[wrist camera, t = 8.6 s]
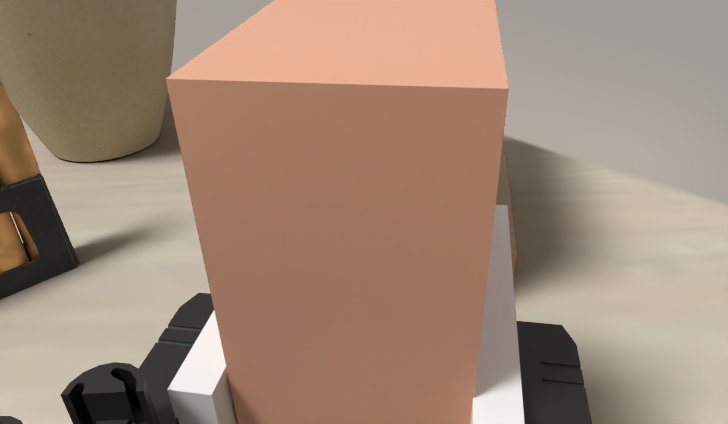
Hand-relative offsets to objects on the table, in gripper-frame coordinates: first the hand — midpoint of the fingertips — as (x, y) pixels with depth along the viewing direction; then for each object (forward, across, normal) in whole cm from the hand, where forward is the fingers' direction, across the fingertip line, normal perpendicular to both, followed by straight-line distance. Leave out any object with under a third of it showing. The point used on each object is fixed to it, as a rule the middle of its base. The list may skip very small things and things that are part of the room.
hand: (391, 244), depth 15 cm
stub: (-3, 0, -8) cm, 8 cm away
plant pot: (+22, -23, -8) cm, 33 cm away
